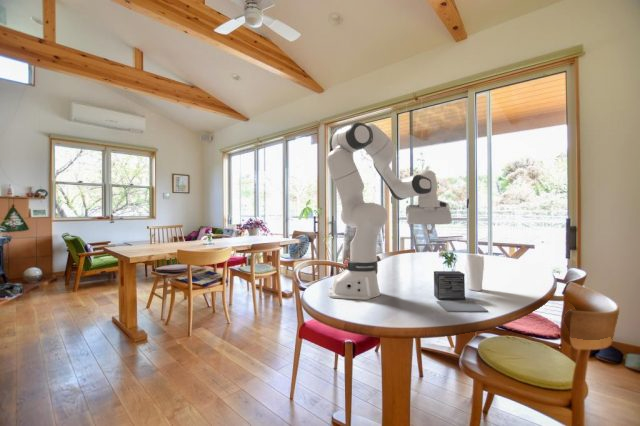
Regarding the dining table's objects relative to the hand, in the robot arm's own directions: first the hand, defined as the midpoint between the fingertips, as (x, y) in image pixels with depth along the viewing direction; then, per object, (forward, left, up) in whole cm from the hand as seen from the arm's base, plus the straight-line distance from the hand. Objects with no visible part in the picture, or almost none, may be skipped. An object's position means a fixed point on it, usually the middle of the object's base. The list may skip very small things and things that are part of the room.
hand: (429, 233), depth 143 cm
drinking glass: (+18, -8, -25) cm, 31 cm away
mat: (+2, -31, -24) cm, 40 cm away
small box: (+2, -20, -25) cm, 32 cm away
